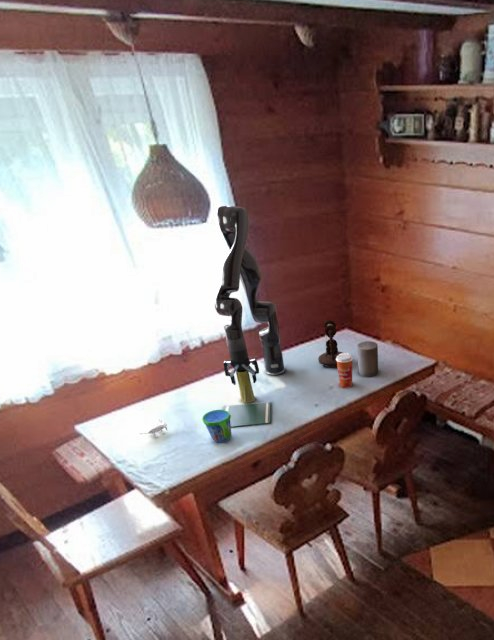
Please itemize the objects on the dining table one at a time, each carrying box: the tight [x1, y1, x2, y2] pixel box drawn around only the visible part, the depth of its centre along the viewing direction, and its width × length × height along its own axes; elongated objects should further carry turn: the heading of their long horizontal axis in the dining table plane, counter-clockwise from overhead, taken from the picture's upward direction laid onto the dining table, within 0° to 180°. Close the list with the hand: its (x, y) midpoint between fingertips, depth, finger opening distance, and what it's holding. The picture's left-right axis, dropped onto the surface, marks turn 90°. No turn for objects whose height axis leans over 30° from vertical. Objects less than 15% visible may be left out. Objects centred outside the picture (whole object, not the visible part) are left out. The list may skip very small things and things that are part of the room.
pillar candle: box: [356, 340, 380, 378], centre depth 242 cm, size 10×10×15 cm
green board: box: [223, 401, 272, 428], centre depth 218 cm, size 18×20×1 cm
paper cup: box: [336, 352, 354, 389], centre depth 233 cm, size 8×8×14 cm
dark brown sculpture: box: [317, 319, 344, 368], centre depth 250 cm, size 15×15×20 cm
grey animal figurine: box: [139, 419, 169, 438], centre depth 206 cm, size 12×5×5 cm, turn 141°
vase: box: [235, 370, 256, 404], centre depth 224 cm, size 6×6×14 cm
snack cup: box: [201, 409, 232, 443], centre depth 201 cm, size 16×10×10 cm
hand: (244, 383), depth 223 cm, fingers open, 8 cm apart
